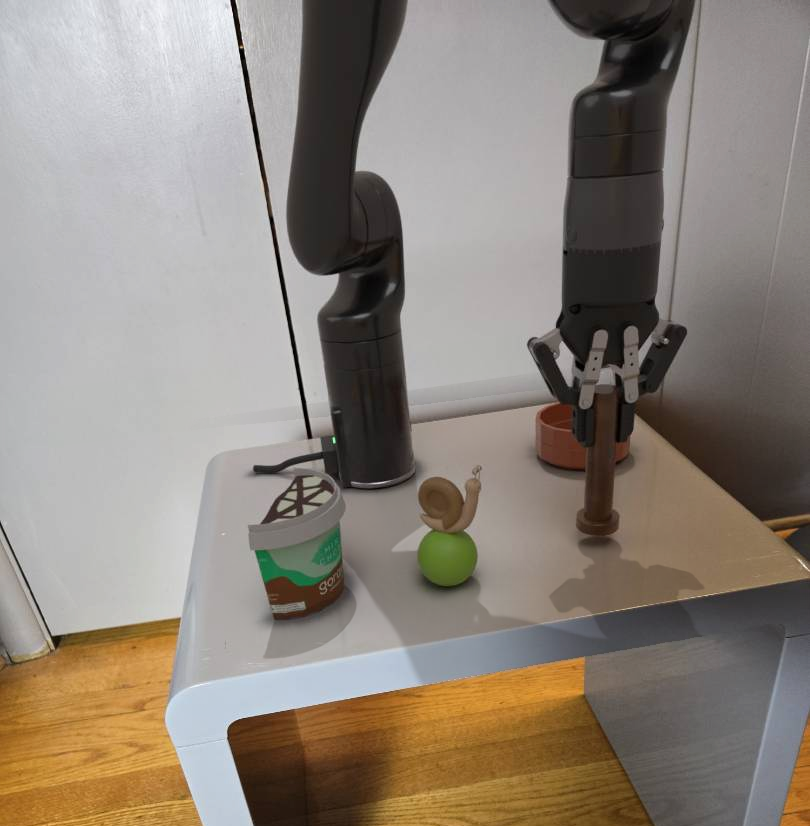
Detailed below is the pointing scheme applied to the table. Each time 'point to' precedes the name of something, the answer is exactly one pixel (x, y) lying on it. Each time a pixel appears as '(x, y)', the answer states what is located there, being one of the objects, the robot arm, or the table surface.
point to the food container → (301, 546)
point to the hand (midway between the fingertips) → (601, 441)
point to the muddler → (601, 466)
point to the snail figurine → (448, 530)
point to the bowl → (564, 439)
